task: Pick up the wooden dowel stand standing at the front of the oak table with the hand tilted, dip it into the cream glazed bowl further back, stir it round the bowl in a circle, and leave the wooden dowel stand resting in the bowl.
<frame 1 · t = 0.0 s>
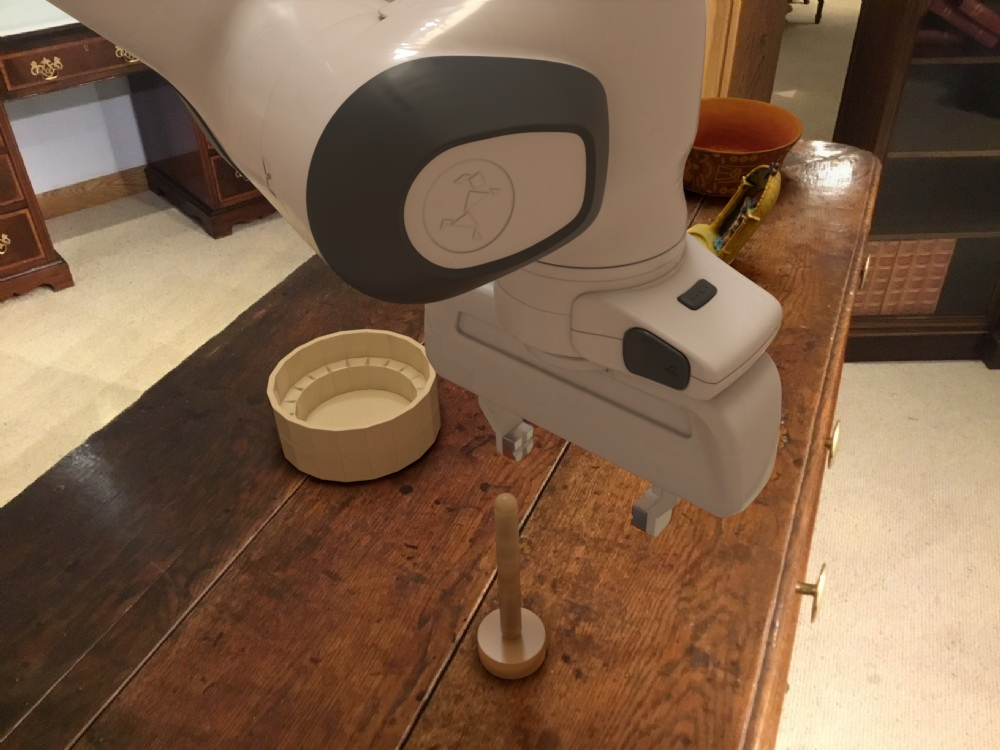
hand: (579, 486, 48), 22 cm above the sideboard, tool pointing down, fingers open, 8 cm apart
decorative mushroom: (592, 281, 109), on the sideboard
bowl: (719, 186, 131), on the sideboard
mixing bowl: (361, 430, 87), on the sideboard
fruit: (654, 392, 91), on the sideboard
wooden dowel stand: (512, 649, 66), on the sideboard
cup: (424, 261, 115), on the sideboard
planter: (572, 192, 131), on the sideboard
shrine: (720, 266, 111), on the sideboard
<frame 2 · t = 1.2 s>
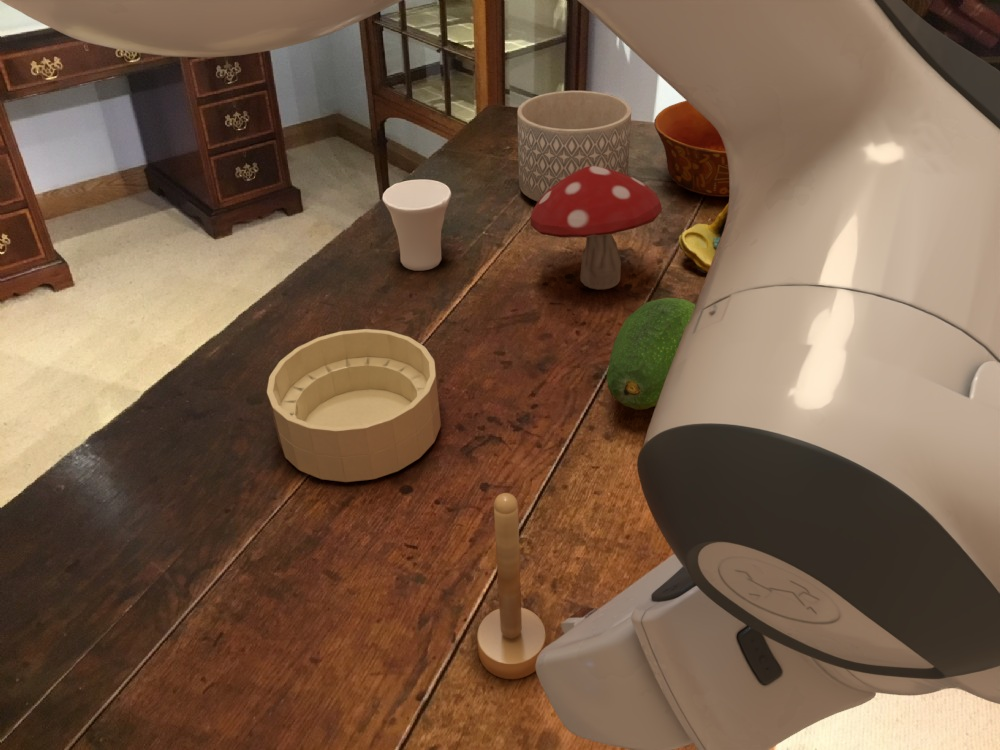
hand: (639, 583, 47), 19 cm above the sideboard, tool tilted 45°, fingers open, 8 cm apart
nothing on the sideboard moved.
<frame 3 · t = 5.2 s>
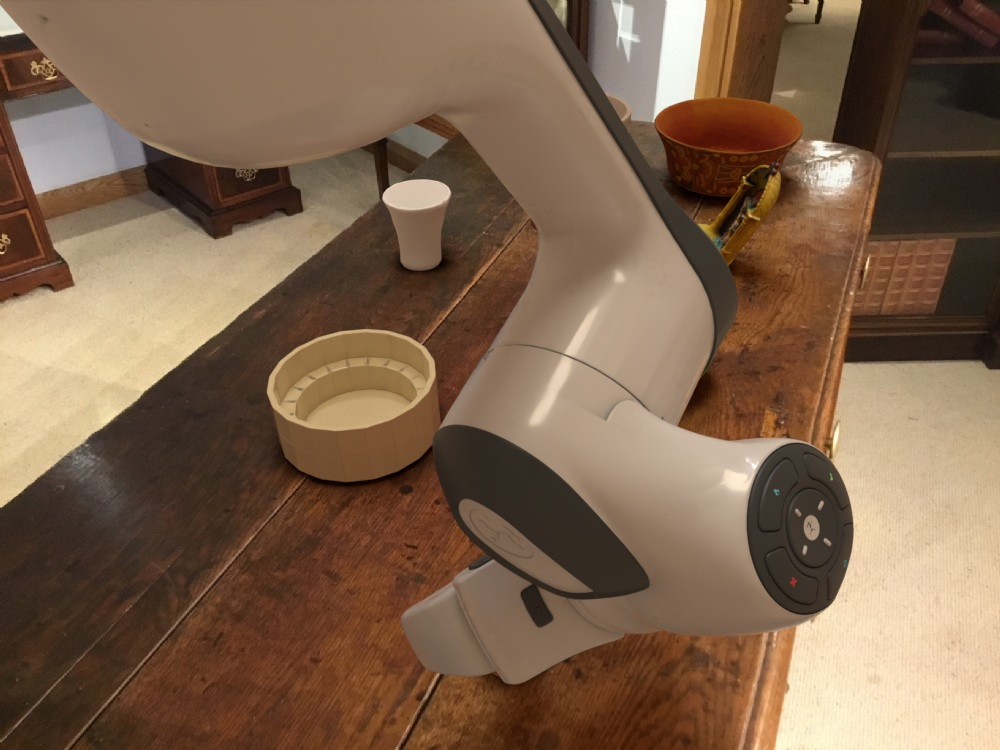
hand: (502, 564, 60), 9 cm above the sideboard, tool tilted 45°, fingers closed on wooden dowel stand
wooden dowel stand: (512, 649, 66), on the sideboard, touching gripper
everything else where it was.
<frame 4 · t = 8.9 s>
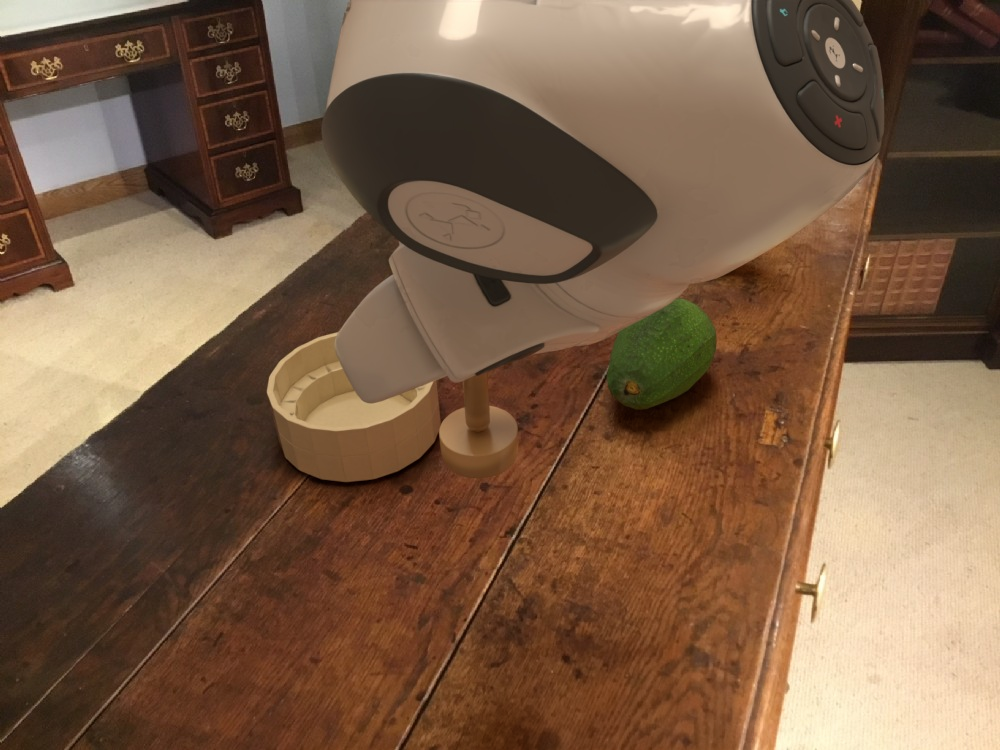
hand: (465, 332, 52), 27 cm above the sideboard, tool tilted 45°, fingers closed on wooden dowel stand
wooden dowel stand: (479, 451, 57), point 18 cm above the sideboard, touching gripper
everything else where it was.
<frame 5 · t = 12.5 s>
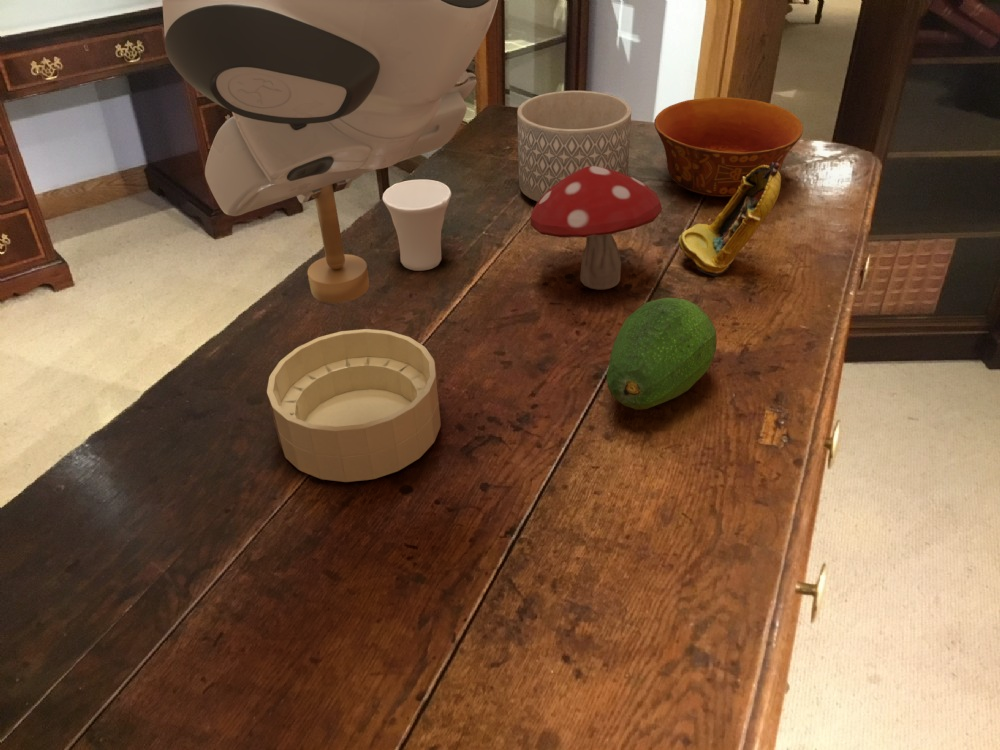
hand: (319, 188, 71), 27 cm above the sideboard, tool tilted 45°, fingers closed on wooden dowel stand
wooden dowel stand: (340, 287, 76), point 17 cm above the sideboard, touching gripper
everything else where it was.
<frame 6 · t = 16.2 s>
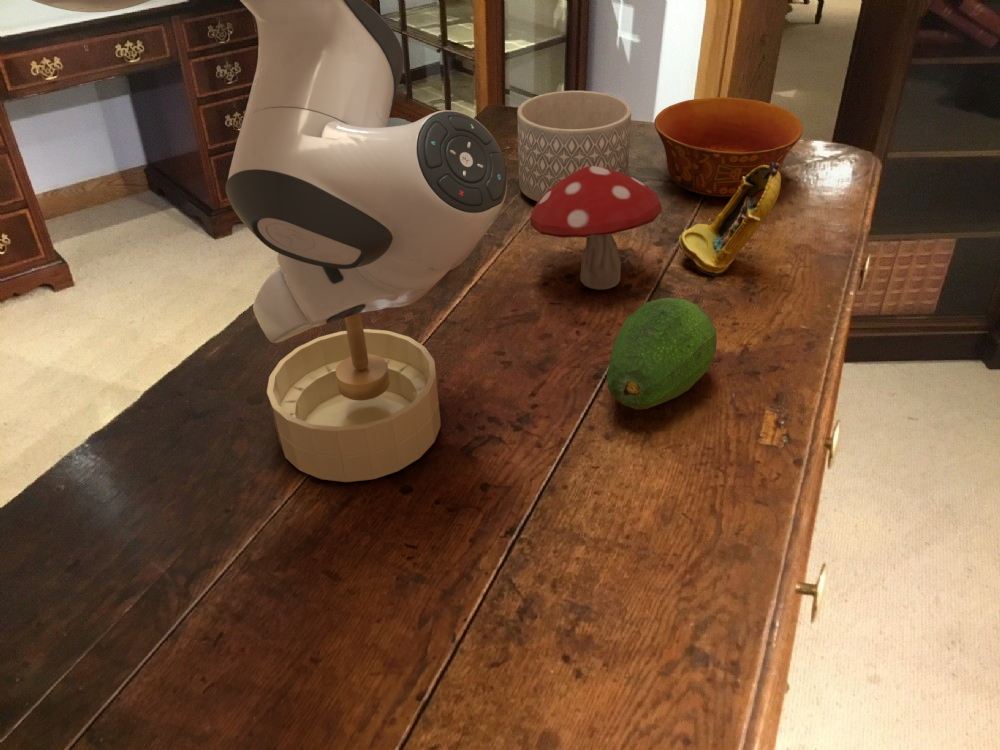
hand: (347, 303, 81), 14 cm above the sideboard, tool tilted 45°, fingers closed on wooden dowel stand
wooden dowel stand: (364, 384, 86), point 4 cm above the sideboard, touching gripper
everything else where it was.
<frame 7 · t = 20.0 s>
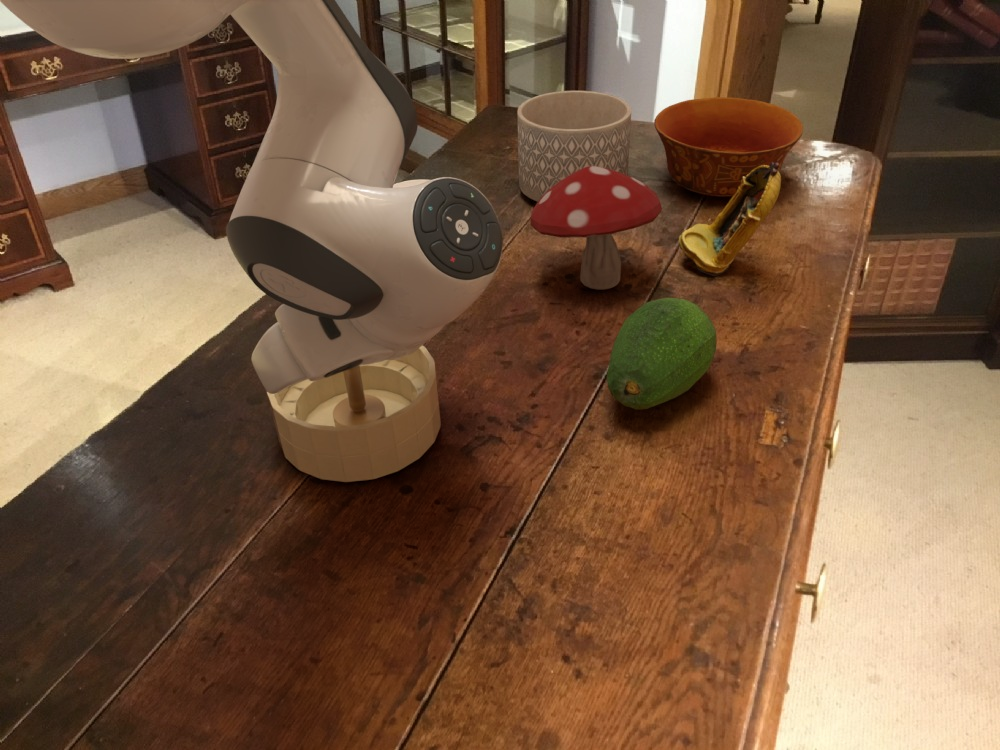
hand: (344, 349, 82), 10 cm above the sideboard, tool tilted 45°, fingers closed
wooden dowel stand: (361, 425, 87), point 1 cm above the sideboard, touching mixing bowl
everything else where it was.
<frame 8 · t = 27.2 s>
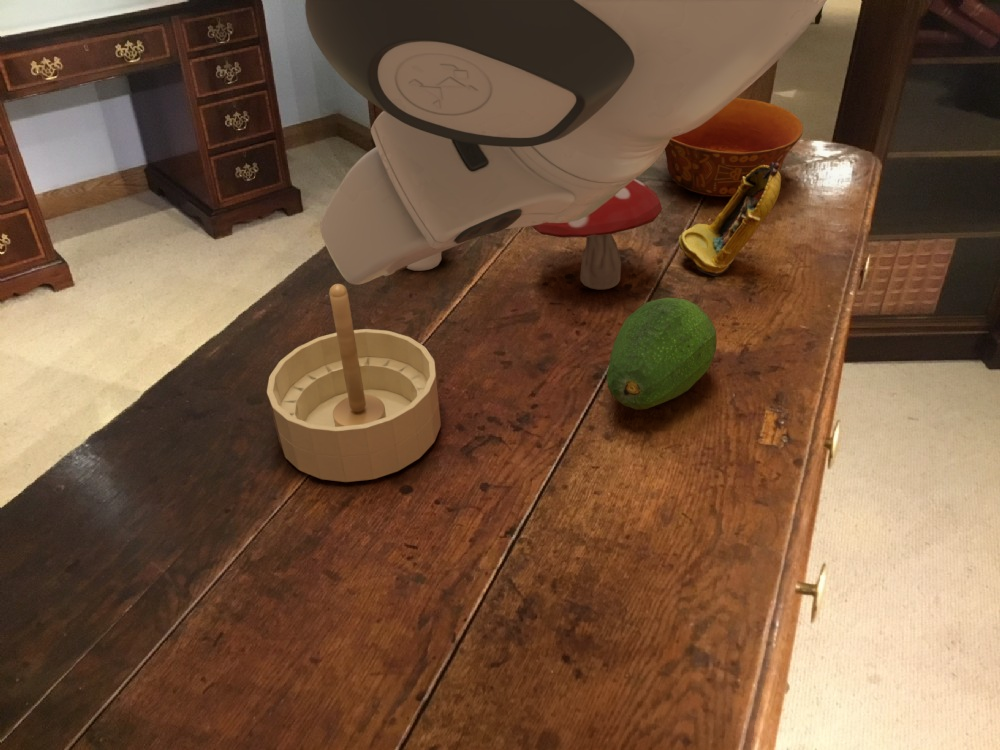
hand: (450, 236, 53), 31 cm above the sideboard, tool tilted 45°, fingers open, 8 cm apart
nothing on the sideboard moved.
at the end: wooden dowel stand inside the target area in the mixing bowl (0.1 cm from its centre), point 0.6 cm above the mixing bowl's base; wooden dowel stand moved 30.5 cm from its start; the gripper is holding nothing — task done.
